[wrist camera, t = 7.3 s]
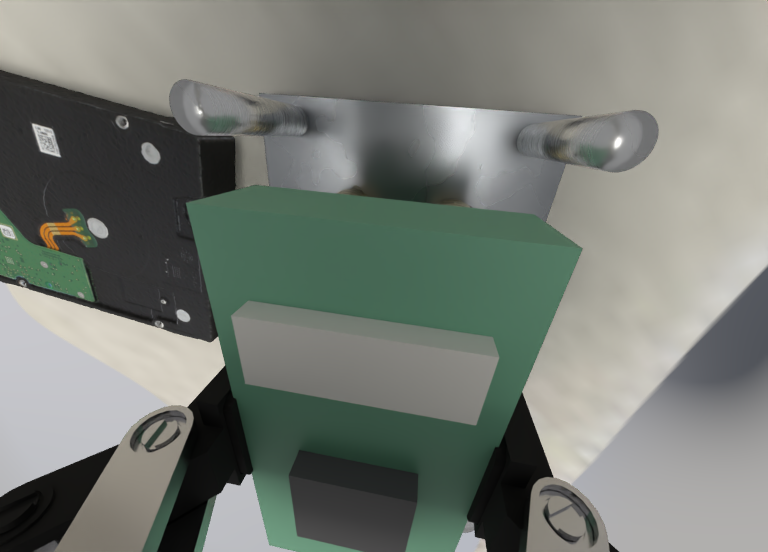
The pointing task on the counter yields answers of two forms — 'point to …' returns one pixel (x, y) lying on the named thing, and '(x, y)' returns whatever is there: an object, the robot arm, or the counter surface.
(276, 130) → the chassis
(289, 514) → the board
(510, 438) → the robot arm
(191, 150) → the disk drive
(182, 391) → the counter surface
